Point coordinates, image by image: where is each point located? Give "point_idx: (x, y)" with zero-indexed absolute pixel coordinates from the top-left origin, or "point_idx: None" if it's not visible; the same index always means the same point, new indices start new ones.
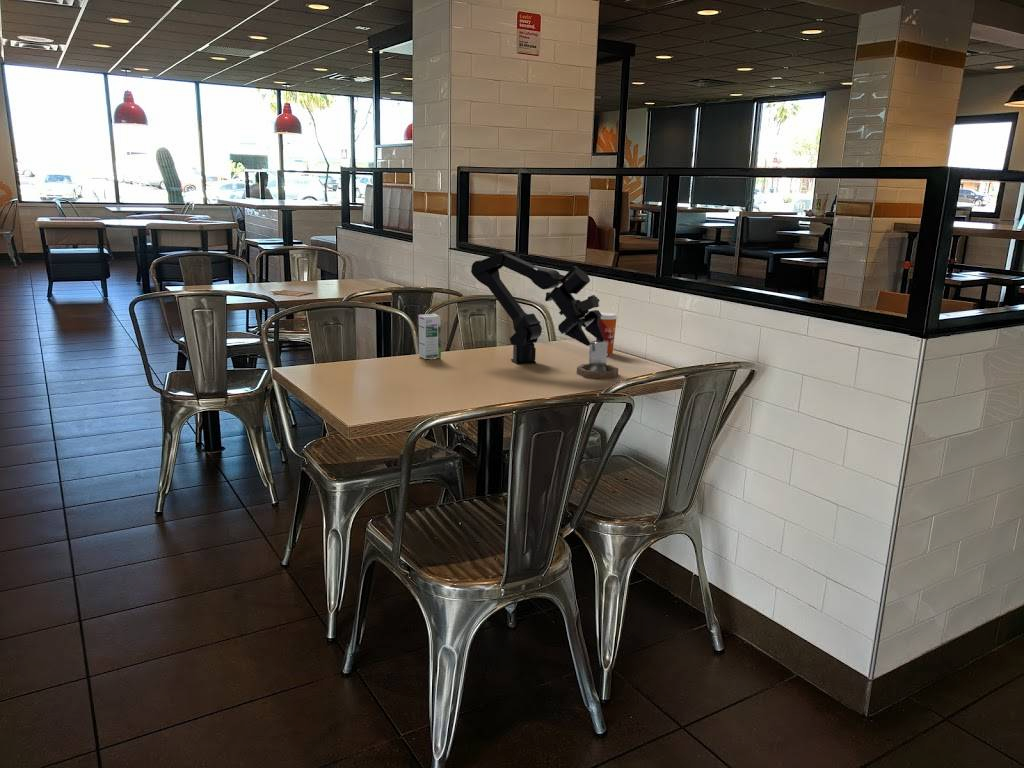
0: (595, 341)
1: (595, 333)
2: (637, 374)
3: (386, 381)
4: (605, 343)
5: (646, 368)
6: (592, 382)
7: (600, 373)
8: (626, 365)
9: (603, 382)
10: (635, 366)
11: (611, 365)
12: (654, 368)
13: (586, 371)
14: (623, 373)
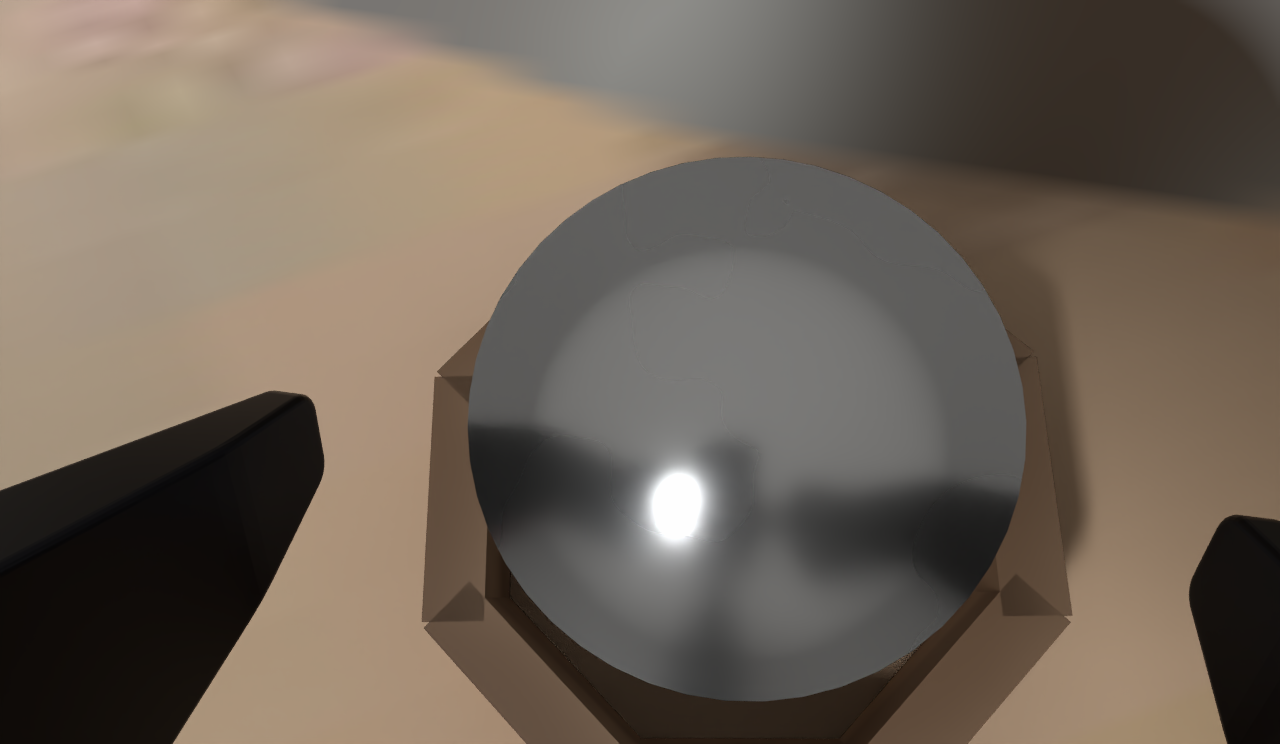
0: (647, 541)
1: (82, 734)
2: (474, 64)
3: None
4: (793, 181)
5: (111, 77)
6: (1249, 389)
7: (1014, 343)
8: (29, 329)
9: (1145, 265)
10: (48, 216)
11: (463, 356)
12: (78, 7)
13: (1060, 571)
14: (503, 216)
